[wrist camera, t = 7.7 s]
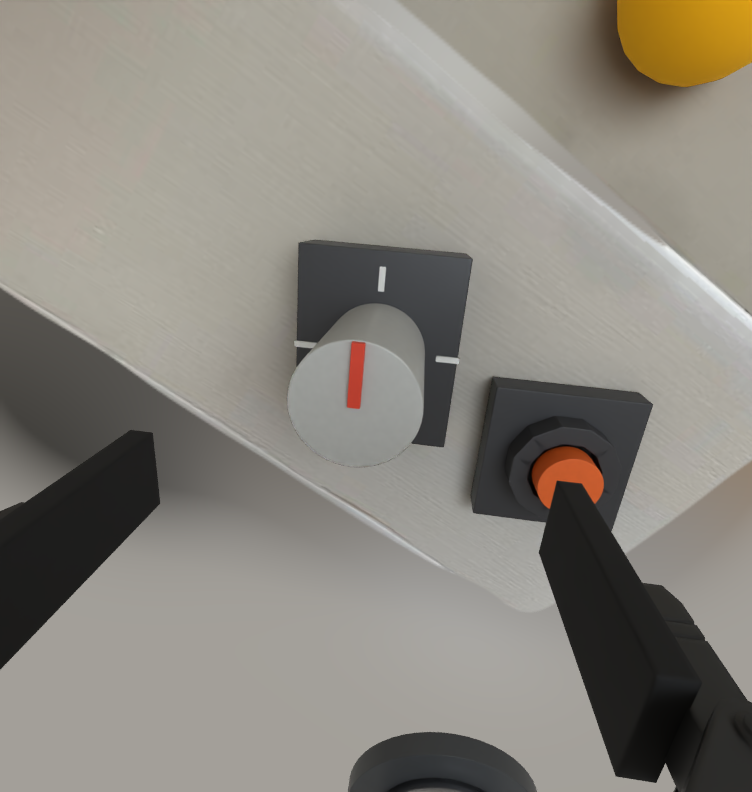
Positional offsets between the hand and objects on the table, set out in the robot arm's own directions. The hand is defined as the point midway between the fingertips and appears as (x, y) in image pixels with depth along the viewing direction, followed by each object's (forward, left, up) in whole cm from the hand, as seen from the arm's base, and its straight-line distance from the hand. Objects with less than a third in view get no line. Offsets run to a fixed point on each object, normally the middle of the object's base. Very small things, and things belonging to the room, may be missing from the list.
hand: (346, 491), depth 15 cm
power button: (-6, -12, -15) cm, 20 cm away
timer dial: (+1, +1, -15) cm, 15 cm away
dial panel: (+1, +1, -19) cm, 19 cm away
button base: (-6, -12, -19) cm, 23 cm away
